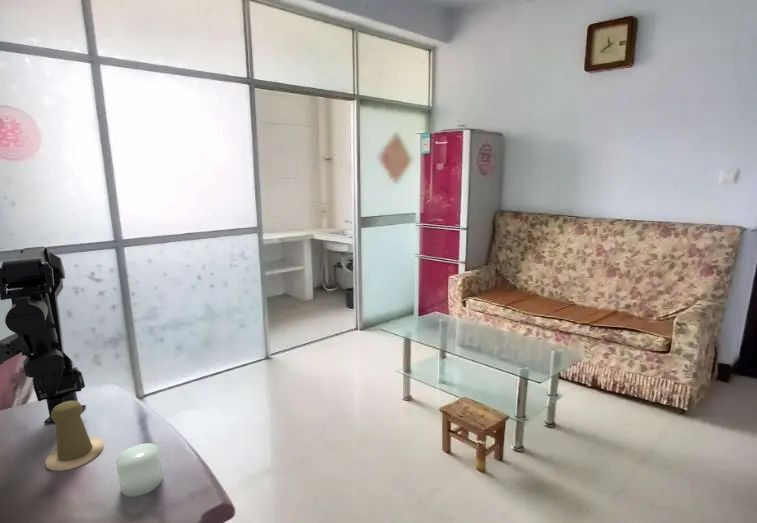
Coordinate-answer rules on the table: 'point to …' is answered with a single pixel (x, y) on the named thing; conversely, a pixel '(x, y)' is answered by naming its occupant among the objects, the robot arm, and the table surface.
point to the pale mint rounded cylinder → (139, 469)
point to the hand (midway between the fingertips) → (50, 388)
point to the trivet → (58, 465)
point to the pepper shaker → (70, 431)
